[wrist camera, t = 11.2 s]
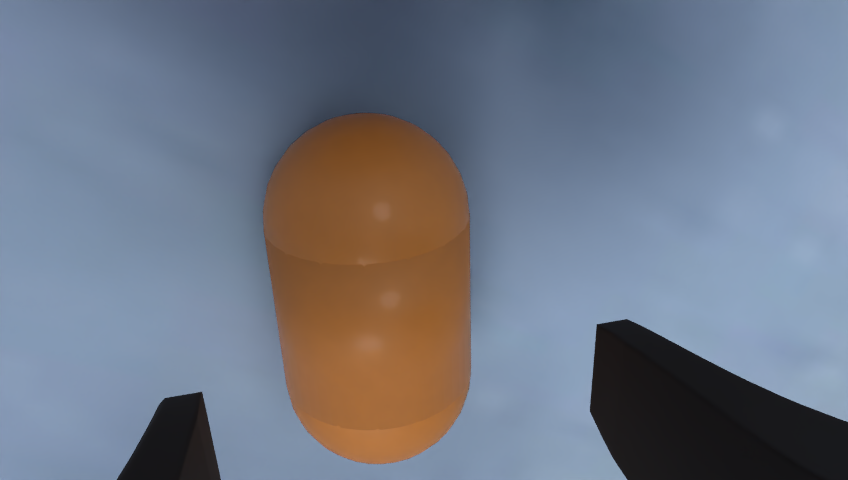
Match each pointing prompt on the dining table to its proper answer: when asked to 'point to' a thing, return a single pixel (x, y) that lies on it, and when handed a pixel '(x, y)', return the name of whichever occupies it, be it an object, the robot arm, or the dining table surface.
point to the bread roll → (371, 285)
